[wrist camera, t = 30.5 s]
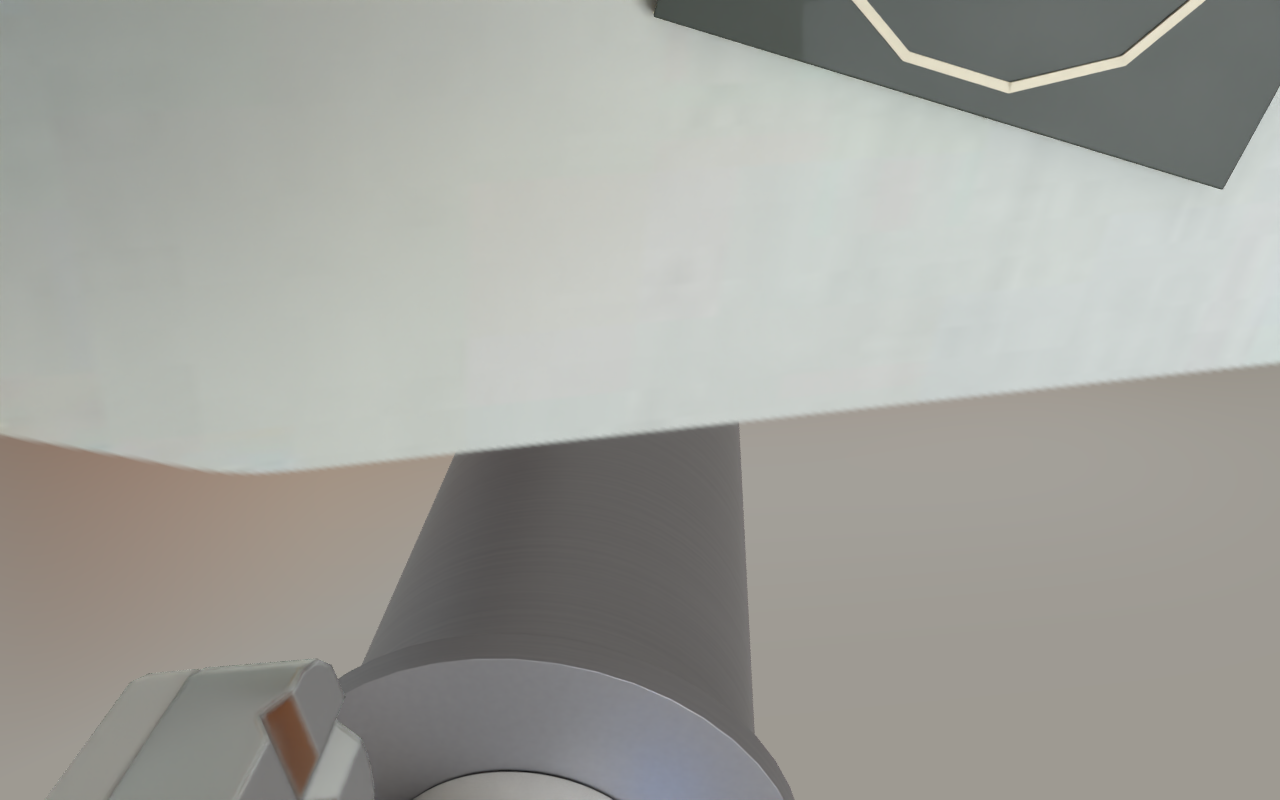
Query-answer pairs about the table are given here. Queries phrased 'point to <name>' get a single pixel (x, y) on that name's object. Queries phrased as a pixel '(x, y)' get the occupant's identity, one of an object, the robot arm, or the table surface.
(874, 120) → the table surface
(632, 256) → the table surface
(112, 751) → the robot arm
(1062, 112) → the slate board
